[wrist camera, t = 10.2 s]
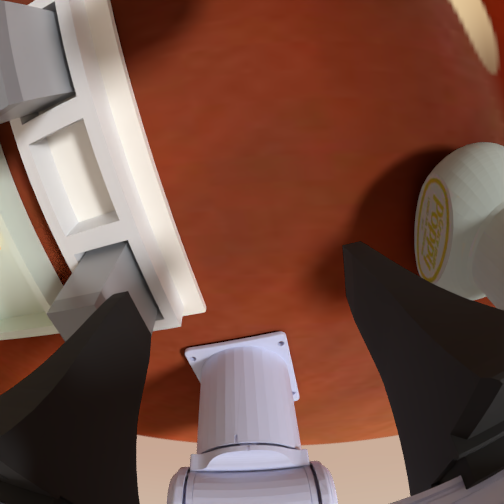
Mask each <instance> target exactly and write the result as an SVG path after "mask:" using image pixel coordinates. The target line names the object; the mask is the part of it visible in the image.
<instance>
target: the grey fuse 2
mask: <svg viewBox="0 0 504 504" xmlns="http://www.w3.org/2000/svg"><path fill="white" fill-rule="evenodd" d="M126 291H128V292H129V294H130V296H131V298H132V300H133V302H134V303H135V305H136V307H137V309H138V311H139V313H140V315H141V317H142V318H143V320H144V322H145V324H146V326H147V327H148V329H149V331H150V333H151V335H152V332H153V328H154V324H155V320H156V316H157V312H158V309H159V307H158V305H157V303H156V301H155V299H154V297H153V295H152V293H151V290H150V288H149V286H148V284H147V282H146V280H145V278H144V275H143V273H142V271H141V269H140V267H139V265H138V262H137V260H136V258H135V256H134V253H133V251H132V249H131V246H130V244H129V242H128V240H126V241H122V242H118V243H114V244H111V245H107V246H103V247H100V248H96V249H92V250H89V251H87V252H86V254H85V255H84V257H83V258H82V259H81V261H80V262H79V264H78V265H77V267H76V268H75V270H74V271H73V273H72V274H71V276H70V277H69V279H68V280H67V282H66V283H65V285H64V286H63V288H62V289H61V291H60V293H59V294H58V296H57V297H56V299H55V300H54V302H53V304H52V305H51V307H50V309H49V310H48V312H47V315H48V317H49V319H50V320H51V322H52V323H53V325H54V326H55V327H56V329H57V330H58V332H59V333H60V335H61V336H62V338H63V339H64V340H65V342H66V341H67V340H68V339H69V338H70V337H71V336H72V335H73V334H74V333H75V332H76V331H77V330H78V328H79V327H80V326H81V325H82V324H83V323H84V322H85V321H86V320H87V319H88V318H89V317H90V316H91V315H92V314H93V313H94V312H95V311H96V310H97V309H98V308H99V307H100V306H101V305H102V304H103V303H104V302H105V301H106V300H107V299H108V298H109V297H110V296H112V295H113V294H116V293H121V292H126Z"/></svg>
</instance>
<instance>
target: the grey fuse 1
mask: <svg viewBox="0 0 504 504" xmlns="http://www.w3.org/2000/svg"><path fill="white" fill-rule="evenodd" d="M75 94H76V92H75V89H74V85H73V81H72V78H71V74H70V70H69V66H68V62H67V58H66V53H65V49H64V45H63V40H62V36H61V31H60V26H59V21H58V16H57V12H53V11H49V10H45V9H41V8H37V7H32V6H28V5H23V4H18V3H12V2H7V1H1V0H0V124H1V123H4V122H7V121H10V120H13V119H16V118H19V117H23V116H26V115H29V114H33V113H36V112H40V111H43V110H45V109H47V108H49V107H51V106H53V105H55V104H57V103H59V102H61V101H63V100H65V99H67V98H69V97H71V96H73V95H75Z"/></svg>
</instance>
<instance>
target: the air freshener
mask: <svg viewBox="0 0 504 504" xmlns="http://www.w3.org/2000/svg"><path fill="white" fill-rule="evenodd" d="M414 245H415V257H416V264H417V269H418V272H419V275H420V277H421V278H423V279H425V280H427V281H429V282H430V283H432V284H435V285H437V286H439V287H441V288H443V289H445V290H448V291H450V292H452V293H454V294H457V295H459V296H462V297H464V298H467V299H470V300H476V299H480V298H483V297H486V296H487V297H488V298H489V299H490V301H491V302H492V303H493V304H494V305H495V306H496V308H497V309H501V310H504V146H501V145H498V144H495V143H487V142H479V143H474V144H468V145H466V146H464V147H461V148H459V149H457V150H455V151H453V152H452V153H450V154H449V155H447V156H446V157H445V158H444V159H443V160H442V161H441V162H440V163H438V164H437V165H436V167H435V168H434V169H433V170H432V172H431V173H430V174H429V175H428V177H427V178H426V180H425V182H424V184H423V186H422V188H421V191H420V195H419V198H418V203H417V209H416V216H415V230H414Z"/></svg>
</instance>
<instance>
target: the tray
mask: <svg viewBox="0 0 504 504" xmlns="http://www.w3.org/2000/svg"><path fill="white" fill-rule="evenodd" d="M0 248H1V249H0V340H8V339H17V338H25V337H34V336H42V335H50V334H58V333H59V332H58V330H57V329H56V327H55V326H54V325H53V323H52V322H51V320H50V319H49V317H48V315H47V312H48V310H49V309H50V307H51V305H52V304H53V302H54V300H55V299H56V297H57V296H58V294H59V293H60V291H61V289H62V288H63V284H62V283H61V281H60V279H59V277H58V275H57V274H56V272H55V270H54V268H53V266H52V264H51V262H50V260H49V259H48V257H47V255H46V253H45V251H44V249H43V247H42V245H41V243H40V241H39V239H38V236H37V234H36V232H35V230H34V228H33V226H32V224H31V221H30V219H29V217H28V215H27V212H26V210H25V208H24V206H23V203H22V201H21V198H20V196H19V194H18V191H17V189H16V186H15V183H14V181H13V178H12V176H11V173H10V170H9V167H8V165H7V162H6V159H5V156H4V153H3V150H2V147H1V144H0Z"/></svg>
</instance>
